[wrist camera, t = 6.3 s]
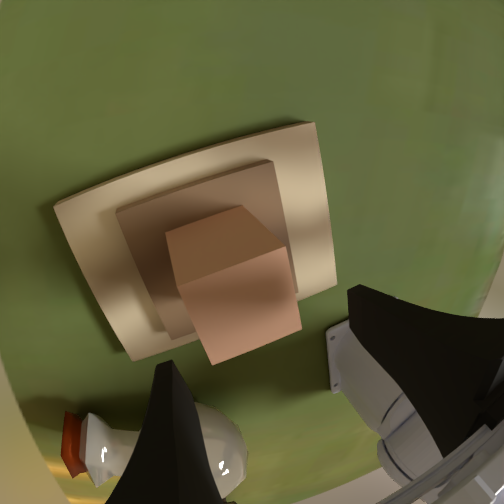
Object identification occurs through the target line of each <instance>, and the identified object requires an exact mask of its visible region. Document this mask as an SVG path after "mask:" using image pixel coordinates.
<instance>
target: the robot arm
mask: <svg viewBox="0 0 504 504" xmlns="http://www.w3.org/2000/svg"><path fill="white" fill-rule="evenodd" d="M347 295H348V312H349V319H348V320H346V321H344V322H342V323H340V324H338V325H335V326H333V327H331V328H329V329H328V330H327V331H326V342H327V353H328V363H329V374H330V386H331V391H332V393H337V392H339V391H341V390H342V392H343V393H344V394H345V396H346V397H347V399H348V400H349V401H350V403H351V404H352V405H353V407H354V408H355V409H356V411H357V412H358V413H359V415H360V416H361V418H362V419H363V420H364V422H365V423H366V424H367V426H368V427H369V428H371V429H372V430H373V431H375V432H377V433H378V434H379V435H380V436H381V439H380V440H379V441H378V443H377V455H378V459H379V461H380V463H381V465H382V467H383V468H384V470H385V471H386V473H387V474H388V475H389V476H390V477H391V478H392V479H393V480H394V481H395V482H396V483H397V484H399V485H400V486H401V487H402V488H401V489H399V490H398V491H396V492H394V493H393V494H391V495H389V496H388V497H387V498H385V499H383V500H381V501H379V502H378V503H376V504H411V503H413V502H414V501H416V500H417V499H419V498H420V499H421V500H422V501H423V502H426V503H427V504H504V318H502V319H495V318H475V317H467V316H459V315H453V314H448V313H444V312H439V311H435V310H431V309H428V308H424V307H421V306H418V305H415V304H412V303H409V302H406V301H403V300H400V299H398V298H397V297H396V296H394V297H392V296H389V295H387V294H384V293H382V292H379V291H377V290H374V289H371V288H369V287H366V286H363V285H360V284H359V285H357V286H355V287H353V288H350V289H348V290H347ZM332 336H333V337H332ZM105 504H224V503H223V501H222V498H221V496H220V493H219V491H218V488H217V485H216V483H215V480H214V477H213V475H212V472H211V468H210V465H209V461H208V457H207V452H206V448H205V443H204V439H203V434H202V430H201V425H200V420H199V415H198V412H197V409H196V406H195V403H194V400H193V397H192V394H191V392H190V390H189V388H188V386H187V385H186V383H185V381H184V380H183V378H182V376H181V374H180V373H179V371H178V369H177V367H176V366H175V364H174V362H173V360H169V361H166V362H163V363H160V364H157V366H156V368H155V374H154V379H153V384H152V389H151V394H150V398H149V402H148V406H147V410H146V414H145V418H144V421H143V424H142V428H141V431H140V434H139V437H138V440H137V442H136V445H135V448H134V450H133V453H132V455H131V457H130V459H129V462H128V464H127V466H126V468H125V470H124V472H123V474H122V476H121V478H120V480H119V481H118V483H117V485H116V487H115V488H114V490H113V492H112V494H111V495H110V497H109V498H108V500H107V501H106V503H105Z"/></svg>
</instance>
